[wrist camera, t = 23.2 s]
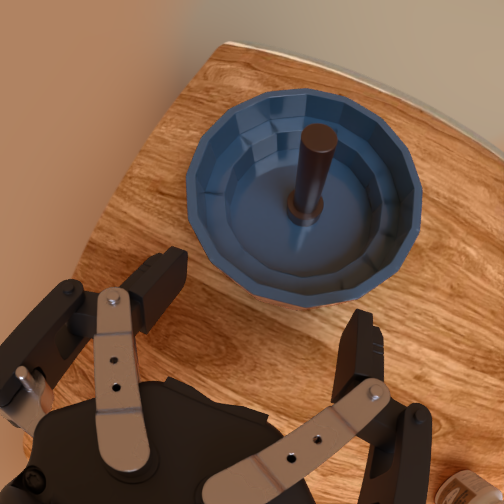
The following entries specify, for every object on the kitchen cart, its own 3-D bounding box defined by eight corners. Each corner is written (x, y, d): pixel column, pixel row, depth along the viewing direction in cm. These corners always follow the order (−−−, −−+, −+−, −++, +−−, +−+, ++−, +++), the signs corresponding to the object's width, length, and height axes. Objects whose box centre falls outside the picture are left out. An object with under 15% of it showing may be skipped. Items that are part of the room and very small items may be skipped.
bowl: (217, 321, 20) (196, 321, 15) (202, 147, 23) (183, 105, 18) (407, 291, 19) (445, 280, 14) (364, 128, 22) (380, 86, 17)
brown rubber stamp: (289, 229, 20) (297, 163, 12) (284, 197, 21) (286, 118, 12) (323, 224, 20) (353, 158, 12) (317, 192, 21) (338, 113, 12)
